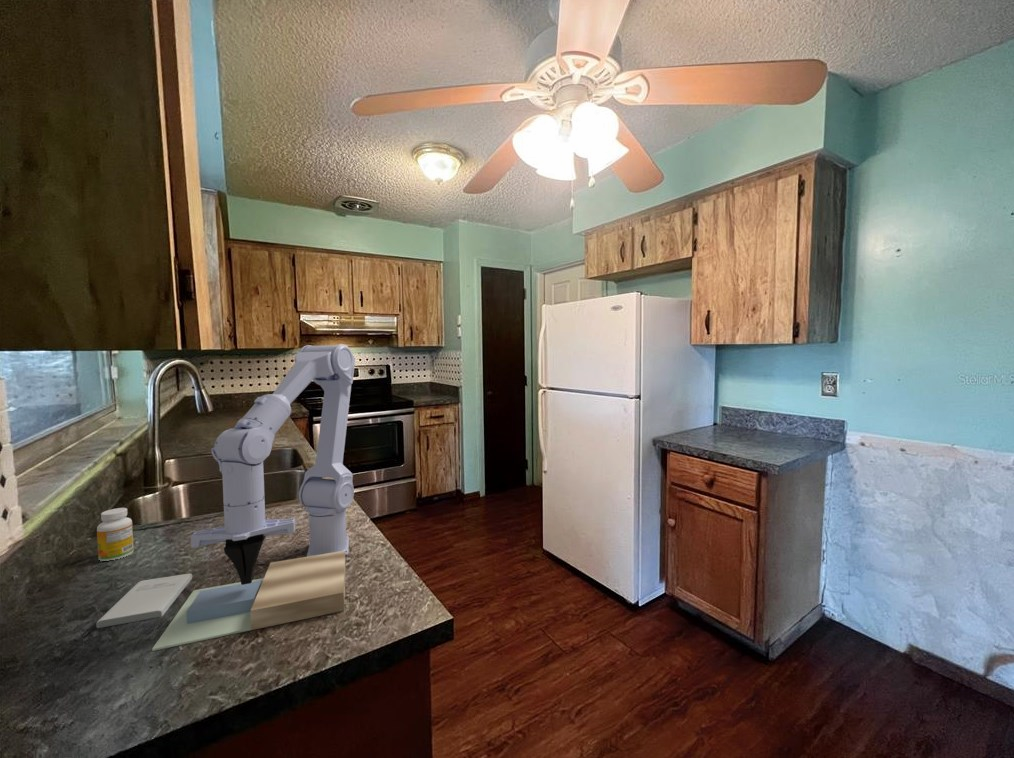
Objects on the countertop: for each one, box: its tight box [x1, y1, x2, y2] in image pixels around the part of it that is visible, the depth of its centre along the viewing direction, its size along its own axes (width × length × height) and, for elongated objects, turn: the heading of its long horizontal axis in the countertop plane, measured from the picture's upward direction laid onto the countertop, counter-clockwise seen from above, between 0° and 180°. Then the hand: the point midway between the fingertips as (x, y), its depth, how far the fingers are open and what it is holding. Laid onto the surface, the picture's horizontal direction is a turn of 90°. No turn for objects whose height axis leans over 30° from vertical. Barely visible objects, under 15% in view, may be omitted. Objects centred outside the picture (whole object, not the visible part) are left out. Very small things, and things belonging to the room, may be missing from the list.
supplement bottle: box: [96, 507, 134, 562], centre depth 86 cm, size 5×5×10 cm
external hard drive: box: [96, 573, 193, 629], centre depth 70 cm, size 2×8×12 cm
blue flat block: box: [187, 580, 262, 624], centre depth 67 cm, size 6×9×2 cm, turn 111°
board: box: [250, 551, 347, 631], centre depth 71 cm, size 16×13×3 cm
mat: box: [151, 577, 264, 652], centre depth 67 cm, size 16×12×1 cm
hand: (247, 581), depth 68 cm, fingers closed
